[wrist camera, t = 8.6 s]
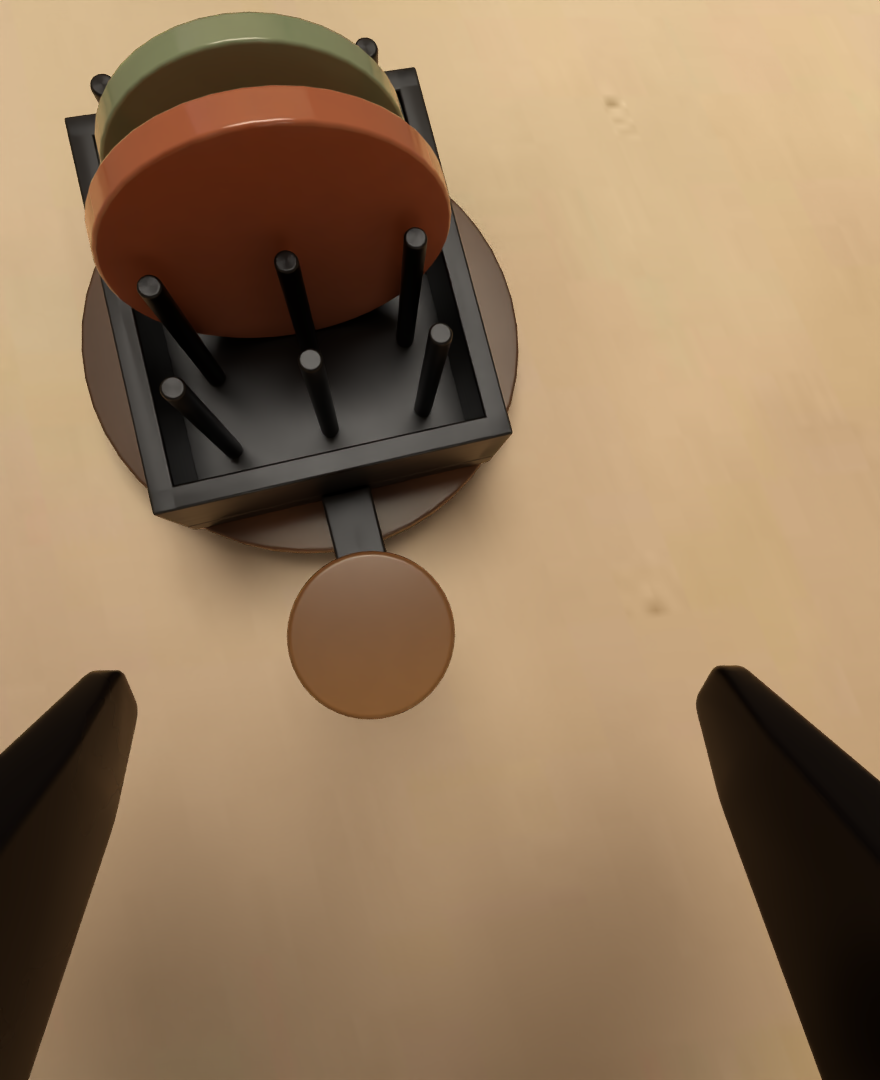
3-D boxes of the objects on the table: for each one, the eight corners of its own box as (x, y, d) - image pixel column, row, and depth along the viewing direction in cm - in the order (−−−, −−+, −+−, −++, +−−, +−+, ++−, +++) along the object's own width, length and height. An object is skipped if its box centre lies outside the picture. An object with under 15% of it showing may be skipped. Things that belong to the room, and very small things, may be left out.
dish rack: (527, 606, 18) (730, 622, 8) (229, 686, 17) (-2, 829, 6) (408, 155, 19) (446, -374, 8) (119, 202, 18) (-236, -336, 7)
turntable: (261, 637, 19) (251, 641, 17) (19, 301, 19) (-12, 275, 17) (583, 407, 20) (599, 392, 19) (360, 102, 20) (358, 63, 19)
